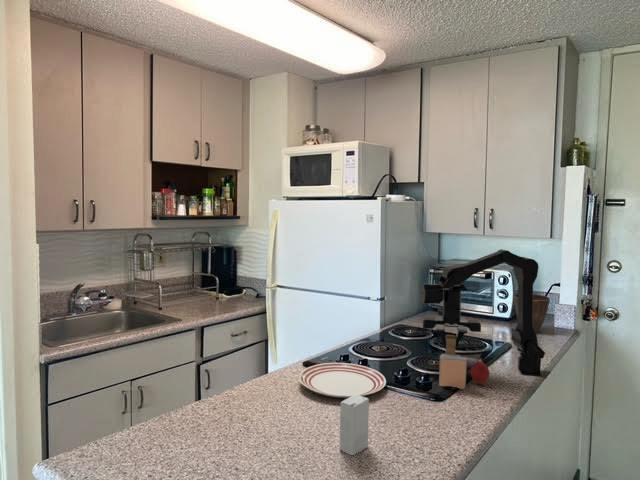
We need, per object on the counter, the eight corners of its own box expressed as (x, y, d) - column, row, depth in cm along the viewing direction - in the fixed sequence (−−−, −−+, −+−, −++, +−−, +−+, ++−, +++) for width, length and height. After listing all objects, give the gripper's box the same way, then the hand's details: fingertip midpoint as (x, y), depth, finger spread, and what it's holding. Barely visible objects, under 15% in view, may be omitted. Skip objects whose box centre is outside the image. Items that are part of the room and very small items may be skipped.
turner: (440, 351, 166) (441, 334, 166) (458, 352, 165) (459, 335, 164) (442, 365, 152) (443, 347, 151) (462, 367, 150) (462, 348, 150)
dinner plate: (396, 379, 158) (396, 369, 158) (369, 412, 134) (369, 400, 133) (320, 366, 170) (321, 357, 170) (282, 394, 145) (282, 384, 145)
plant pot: (550, 330, 221) (552, 296, 220) (545, 337, 208) (547, 301, 207) (515, 325, 229) (517, 292, 228) (509, 332, 216) (510, 297, 215)
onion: (490, 388, 151) (491, 363, 150) (471, 386, 152) (471, 362, 151) (487, 381, 157) (488, 357, 156) (469, 380, 158) (470, 356, 157)
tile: (439, 384, 153) (440, 355, 151) (465, 386, 152) (466, 357, 149) (439, 387, 151) (440, 358, 149) (465, 389, 150) (467, 360, 147)
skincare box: (353, 441, 117) (354, 393, 116) (369, 447, 114) (370, 398, 113) (338, 451, 112) (338, 400, 111) (353, 458, 109) (354, 406, 108)
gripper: (478, 300, 168) (476, 344, 169) (423, 297, 172) (422, 340, 173) (481, 307, 157) (480, 353, 158) (423, 304, 161) (422, 349, 162)
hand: (450, 349), depth 163 cm, fingers closed on turner, 3 cm apart
